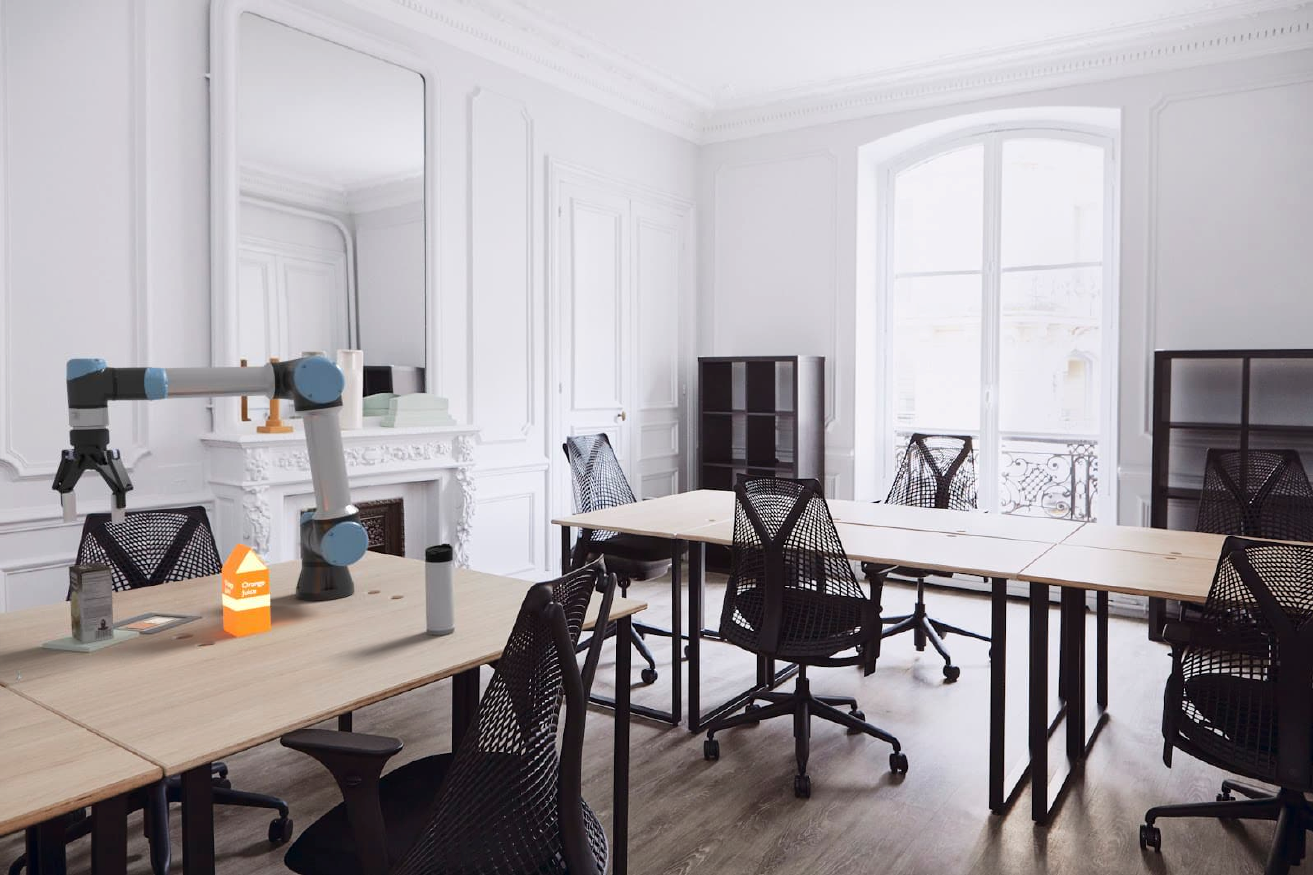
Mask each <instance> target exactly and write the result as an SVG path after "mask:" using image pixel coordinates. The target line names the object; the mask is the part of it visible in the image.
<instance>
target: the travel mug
mask: <svg viewBox="0 0 1313 875" xmlns="http://www.w3.org/2000/svg"><path fill="white" fill-rule="evenodd" d="M424 550H425V551H424V555H425V556H424V557H425V560H424V562H425V565H424V568H425V570H424V571H425V572H424V574H425V577H424V578H425V614H426V615H425V620H426V622H425V623H426V633H427V634H428V635H430V636H446V635H450V634H453V633H454V632H455V587H454V584H455V582H454V556H453V555H454V553H453V552H454V549H453V546H452V545H451V544H450V543H441V544H438V545H437V544H436V545H432V546H428V547H426V549H424Z"/></svg>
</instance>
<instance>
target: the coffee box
mask: <svg viewBox="0 0 1313 875" xmlns="http://www.w3.org/2000/svg"><path fill="white" fill-rule="evenodd" d="M68 575H69V576H68V577H69V597H70V598H69V600H70V616H71V618H70V620H71V635H72V636H73V637H75V638H76V639H77V640H79V641H80V642H82V643H83V644H85V643H90V642H95V641H101V640H106V639H111V638H114V633H113V623H114V613H113V606H114V605H113V581H112V567H111V566H108V565H106V564H104V563H102V562H101V561H98V562H92V563H91V562H90V563H84V564H77V565H76V564H75V565H71V566H68Z"/></svg>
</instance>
